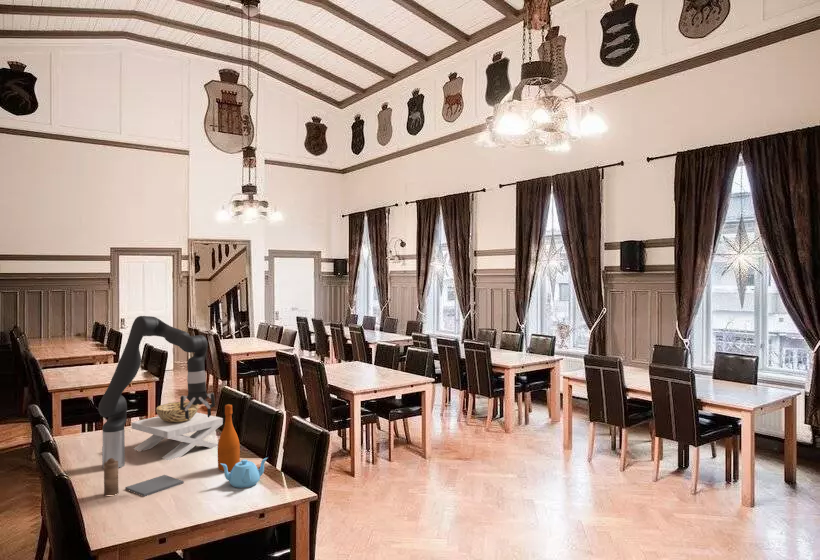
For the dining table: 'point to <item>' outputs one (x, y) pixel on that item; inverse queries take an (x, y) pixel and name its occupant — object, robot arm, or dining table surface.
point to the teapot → (244, 473)
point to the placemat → (154, 485)
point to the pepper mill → (111, 477)
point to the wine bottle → (228, 443)
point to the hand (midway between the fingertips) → (198, 418)
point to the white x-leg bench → (177, 428)
